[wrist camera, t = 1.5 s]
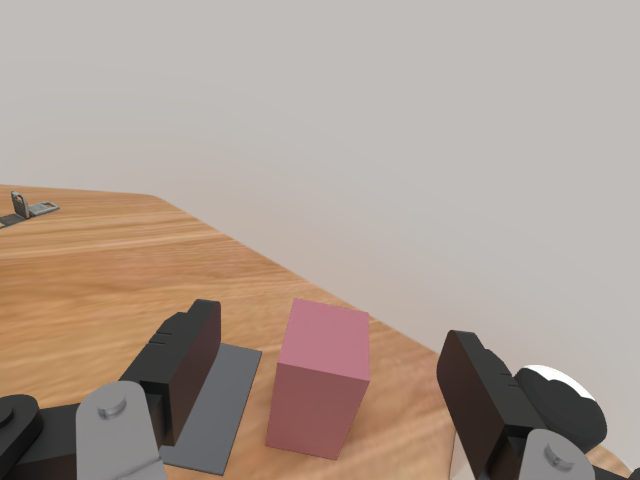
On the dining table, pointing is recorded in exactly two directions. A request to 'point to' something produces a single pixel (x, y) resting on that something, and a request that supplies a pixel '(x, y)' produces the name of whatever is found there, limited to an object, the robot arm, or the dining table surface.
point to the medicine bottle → (550, 413)
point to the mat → (215, 413)
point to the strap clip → (26, 210)
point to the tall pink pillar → (319, 379)
